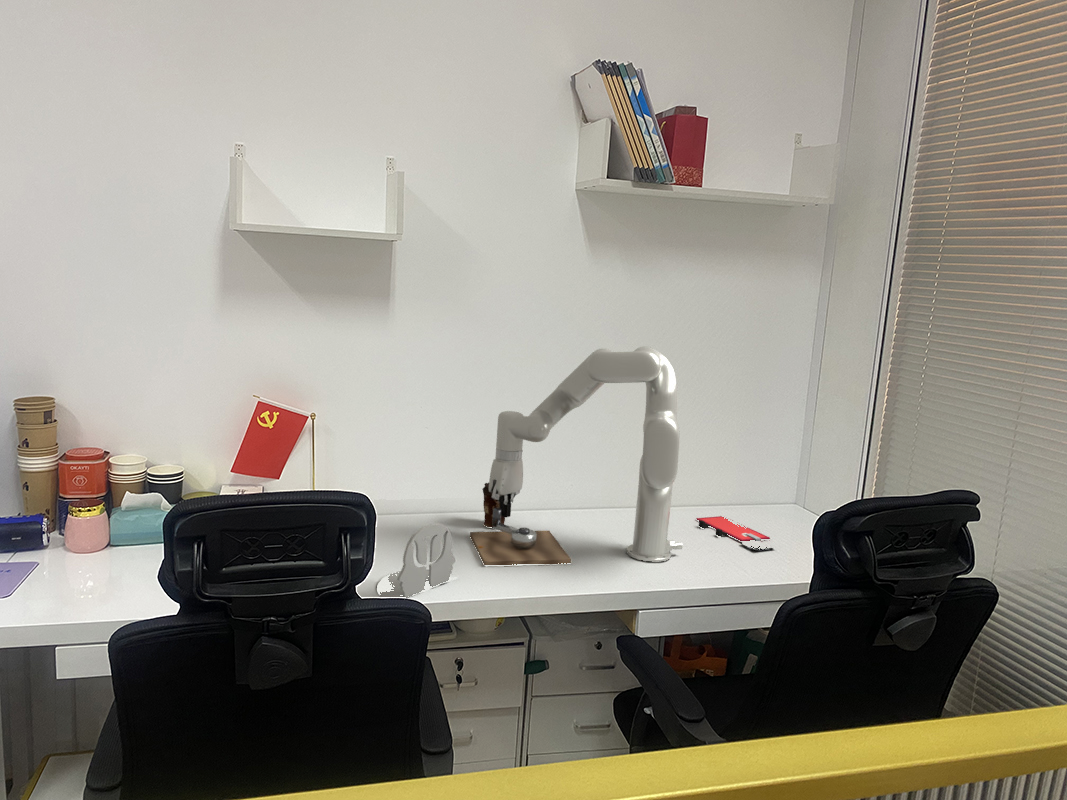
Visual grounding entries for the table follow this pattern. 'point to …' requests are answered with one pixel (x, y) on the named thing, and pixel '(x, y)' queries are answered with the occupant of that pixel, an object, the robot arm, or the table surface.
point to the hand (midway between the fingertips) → (504, 515)
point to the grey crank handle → (514, 531)
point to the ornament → (423, 562)
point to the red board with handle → (731, 529)
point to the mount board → (518, 549)
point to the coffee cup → (490, 506)
